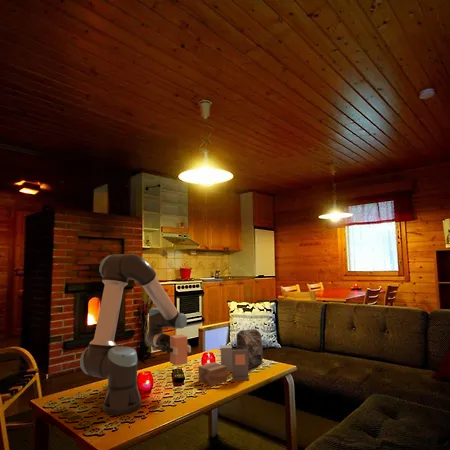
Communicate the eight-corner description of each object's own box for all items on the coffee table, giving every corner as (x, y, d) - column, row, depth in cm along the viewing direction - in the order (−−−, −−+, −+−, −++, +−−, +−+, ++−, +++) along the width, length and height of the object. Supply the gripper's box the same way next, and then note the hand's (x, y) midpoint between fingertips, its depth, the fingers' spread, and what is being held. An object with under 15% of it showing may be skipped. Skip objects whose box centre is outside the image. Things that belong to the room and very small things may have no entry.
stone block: (244, 371, 185) (243, 333, 187) (233, 367, 191) (232, 330, 193) (267, 364, 196) (266, 328, 198) (256, 360, 203) (255, 326, 205)
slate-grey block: (221, 371, 186) (220, 348, 187) (220, 367, 192) (220, 345, 193) (232, 370, 186) (231, 347, 187) (231, 367, 192) (231, 345, 193)
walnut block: (198, 380, 172) (198, 366, 173) (214, 376, 179) (214, 362, 179) (211, 386, 165) (210, 370, 165) (226, 381, 171) (226, 366, 172)
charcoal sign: (233, 380, 170) (232, 351, 172) (232, 378, 174) (231, 349, 176) (249, 380, 171) (248, 351, 172) (248, 377, 175) (247, 349, 176)
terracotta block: (169, 362, 160) (170, 336, 162) (181, 360, 163) (181, 334, 165) (175, 365, 155) (175, 338, 157) (187, 363, 158) (187, 336, 160)
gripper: (180, 346, 180) (201, 355, 161) (145, 351, 169) (163, 362, 150) (180, 331, 181) (201, 339, 161) (145, 336, 170) (164, 344, 151)
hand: (183, 350), depth 156 cm, fingers closed on terracotta block, 6 cm apart
